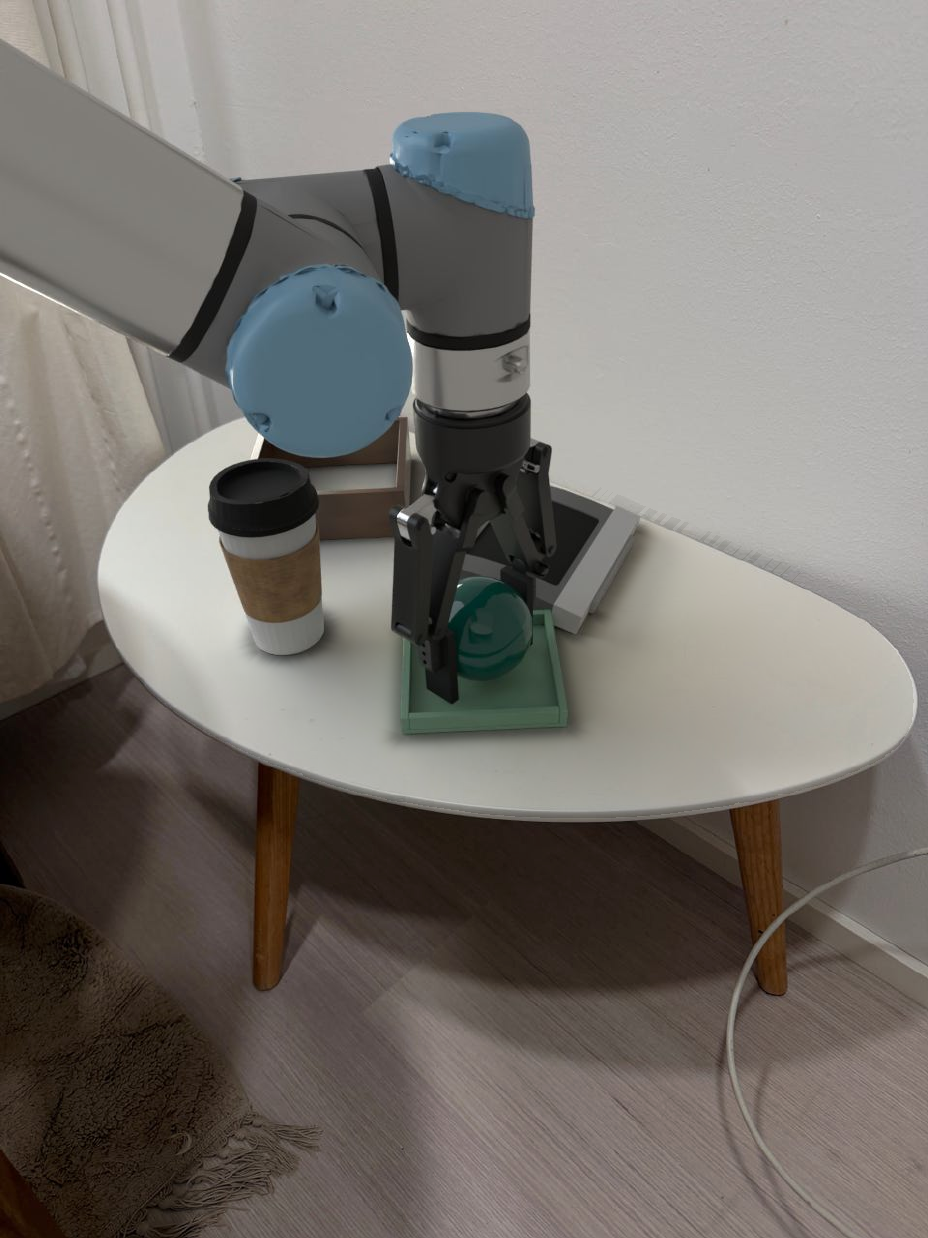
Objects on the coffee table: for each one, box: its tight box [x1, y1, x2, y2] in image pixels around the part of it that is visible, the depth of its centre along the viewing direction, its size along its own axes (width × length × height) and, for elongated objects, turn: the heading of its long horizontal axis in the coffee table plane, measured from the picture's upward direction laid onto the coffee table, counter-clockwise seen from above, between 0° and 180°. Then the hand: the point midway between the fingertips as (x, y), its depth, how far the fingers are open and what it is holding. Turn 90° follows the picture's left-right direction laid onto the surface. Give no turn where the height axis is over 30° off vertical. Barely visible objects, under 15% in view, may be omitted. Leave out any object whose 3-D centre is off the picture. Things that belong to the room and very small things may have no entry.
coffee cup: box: [207, 458, 325, 656], centre depth 73 cm, size 8×8×15 cm
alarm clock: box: [445, 485, 641, 635], centre depth 84 cm, size 17×5×16 cm
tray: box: [400, 609, 569, 735], centre depth 72 cm, size 12×12×2 cm
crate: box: [249, 416, 412, 541], centre depth 94 cm, size 16×16×5 cm
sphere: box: [447, 576, 533, 681], centre depth 70 cm, size 8×8×8 cm
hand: (480, 665), depth 72 cm, fingers closed on sphere, 8 cm apart
